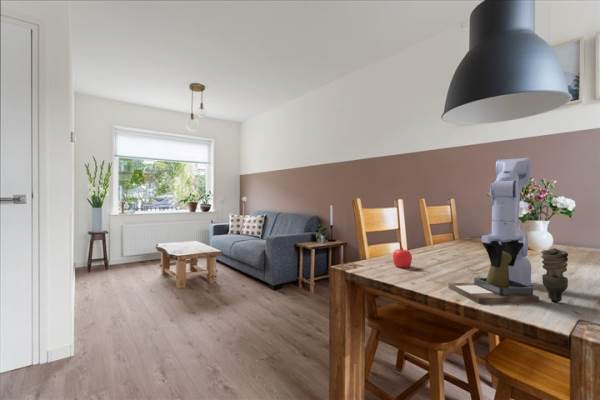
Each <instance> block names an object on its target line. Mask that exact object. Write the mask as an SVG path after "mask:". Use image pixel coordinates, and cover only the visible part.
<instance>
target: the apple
mask: <svg viewBox="0 0 600 400" xmlns="http://www.w3.org/2000/svg"><path fill="white" fill-rule="evenodd" d="M392 260H393V265H395V266H396V267H397V268H399V269H407V267H408V268H409V267H411V266H412V265H411V264H412V261H413V256H412V254H411V252H410V251H409V250H407V249H404V248H403V247H401V249H399V248H398V249H395V250H394V251H393V253H392Z"/></svg>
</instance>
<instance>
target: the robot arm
mask: <svg viewBox="0 0 600 400" xmlns="http://www.w3.org/2000/svg"><path fill="white" fill-rule="evenodd" d="M531 172H532V160H531V158H530V157H523V158H522V157H521V158H510V159H509V158H507V159H500V158H498V159H497V160H496V162H495V176H496V178H495V180H494V182H491V183H490V186H489V195H490V205H491V206H492V207H491V233H488V234H487V235H481V242H482V246H483V248H484V249H485V251H486V252H487V255H488V258H489V259H488V260H489V261H490V266H494V267H500V264H501V256H502V252H503V251H504V252H507V253H509V254H510V255H511V257H512V260H511V262H510V263H509V279H510V280H513V281H516V282H519V283H522V284H524V285H527V286H533V285H534V283H533V282H532V264H531V262H530V260H529V259H528V258H526V257H527V256H528V251H529V240H528V234H527V233H526V232H524V231H523V230H522V229H521V228H519V219H520V205H521V203H520V201H521V191H522V189H523V187H524V186H525V185H528V184H529V183H530V180H531Z"/></svg>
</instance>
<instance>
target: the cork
mask: <svg viewBox="0 0 600 400" xmlns="http://www.w3.org/2000/svg"><path fill="white" fill-rule="evenodd" d="M511 260H512V257H511V255H510V254H509V253H507V252H504V251H503V252H502V256H501V264H500V267H494V266H491V265H490V266H489V270H488V273H487V275H486V278H487V279H486V282H488V283H490V284H493V285H495V286H498V287H500V288H509V263H510V262H511Z"/></svg>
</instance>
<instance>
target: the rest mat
mask: <svg viewBox="0 0 600 400" xmlns="http://www.w3.org/2000/svg"><path fill="white" fill-rule="evenodd" d="M456 287H458V288H460V289H462V290H464V291H466V292H468V293H470V294H494V293H493V292H490V291H488V290H486V289H483V288H481V287H479V286H476V285H468V286H456Z"/></svg>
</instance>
